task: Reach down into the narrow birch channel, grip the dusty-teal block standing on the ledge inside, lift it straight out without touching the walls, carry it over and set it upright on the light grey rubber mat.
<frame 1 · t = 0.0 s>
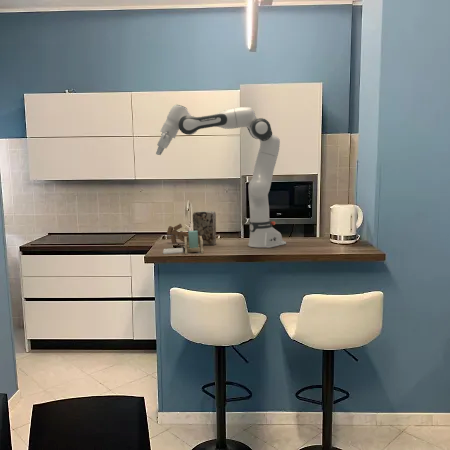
hand: (158, 154, 268), 54 cm above the counter, tool tilted 30°, fingers open, 8 cm apart
stone block: (205, 244, 287), on the counter
figurine: (179, 243, 295), on the counter
block: (193, 247, 269), point 2 cm above the counter, touching channel
mat: (173, 251, 269), on the counter
channel: (193, 250, 269), on the counter
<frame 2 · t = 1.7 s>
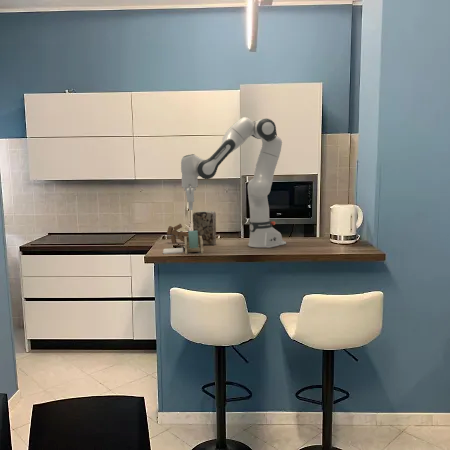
hand: (190, 209, 266), 24 cm above the counter, tool pointing down, fingers open, 8 cm apart
nothing on the counter moved.
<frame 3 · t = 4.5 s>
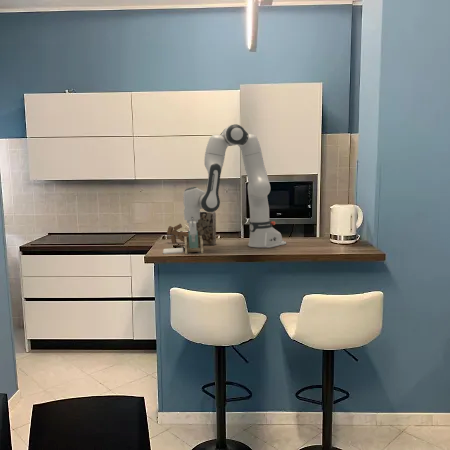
hand: (193, 240, 269), 6 cm above the counter, tool pointing down, fingers closed on block, 5 cm apart
block: (193, 247, 269), point 2 cm above the counter, touching channel, gripper
everything else where it was.
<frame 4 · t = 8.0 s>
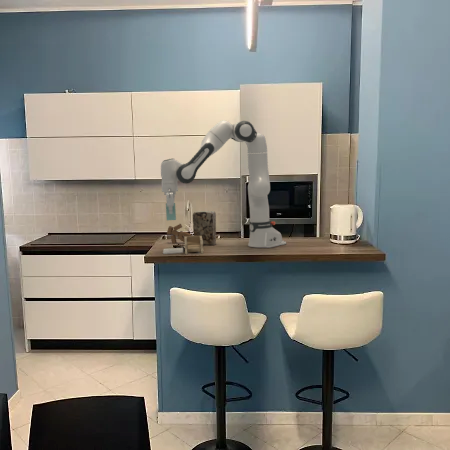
hand: (171, 213, 266), 22 cm above the counter, tool pointing down, fingers closed on block, 5 cm apart
block: (171, 219, 267), point 18 cm above the counter, touching gripper
everything else where it was.
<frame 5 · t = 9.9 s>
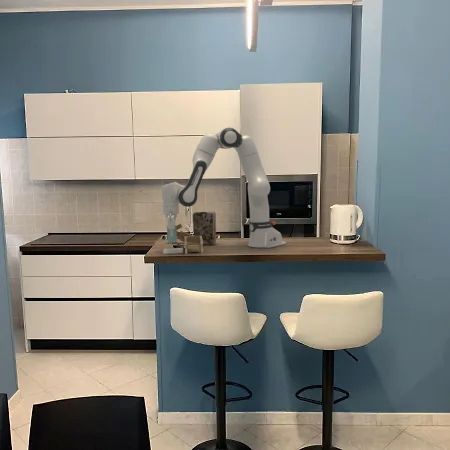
hand: (172, 235, 268), 9 cm above the counter, tool pointing down, fingers closed on block, 5 cm apart
block: (172, 241, 268), point 6 cm above the counter, touching gripper
everything else where it was.
when the fingers open (6 cm above the counter, at t = 11.5 s): block drops 1 cm, resting on mat.
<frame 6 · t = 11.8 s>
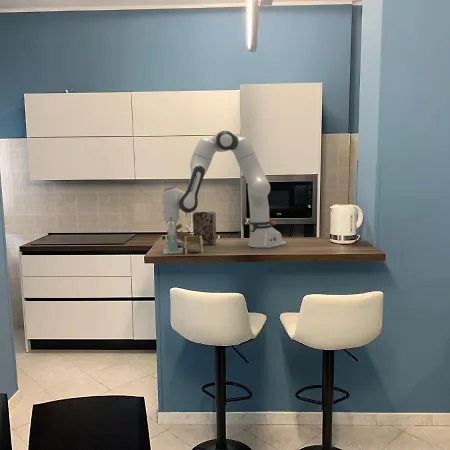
hand: (172, 241, 268), 6 cm above the counter, tool pointing down, fingers open, 7 cm apart
block: (173, 250, 269), point 1 cm above the counter, touching mat
everything else where it was.
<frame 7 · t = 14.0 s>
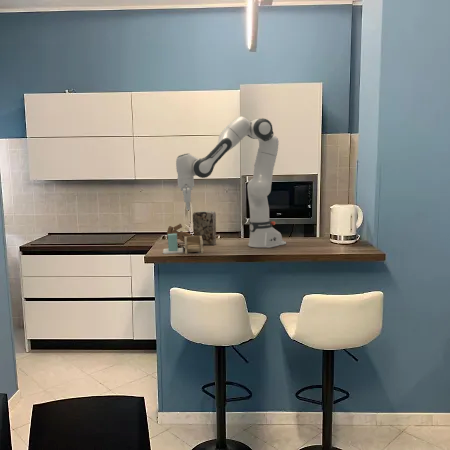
hand: (188, 209, 263), 24 cm above the counter, tool pointing down, fingers open, 8 cm apart
nothing on the counter moved.
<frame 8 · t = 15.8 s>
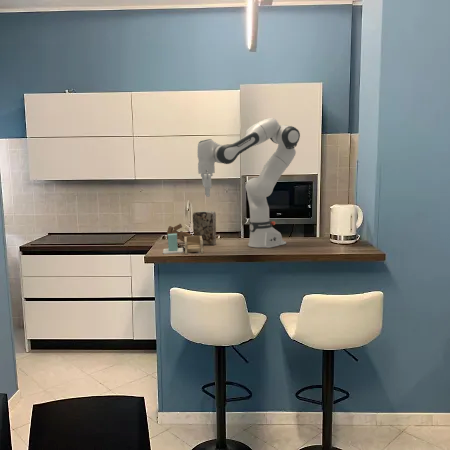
hand: (207, 195, 258), 31 cm above the counter, tool pointing down, fingers open, 8 cm apart
nothing on the counter moved.
at the end: block inside the target area on the mat (0.0 cm from its centre), point 0.8 cm above the mat's base; block tilted 0°; block touching mat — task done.
